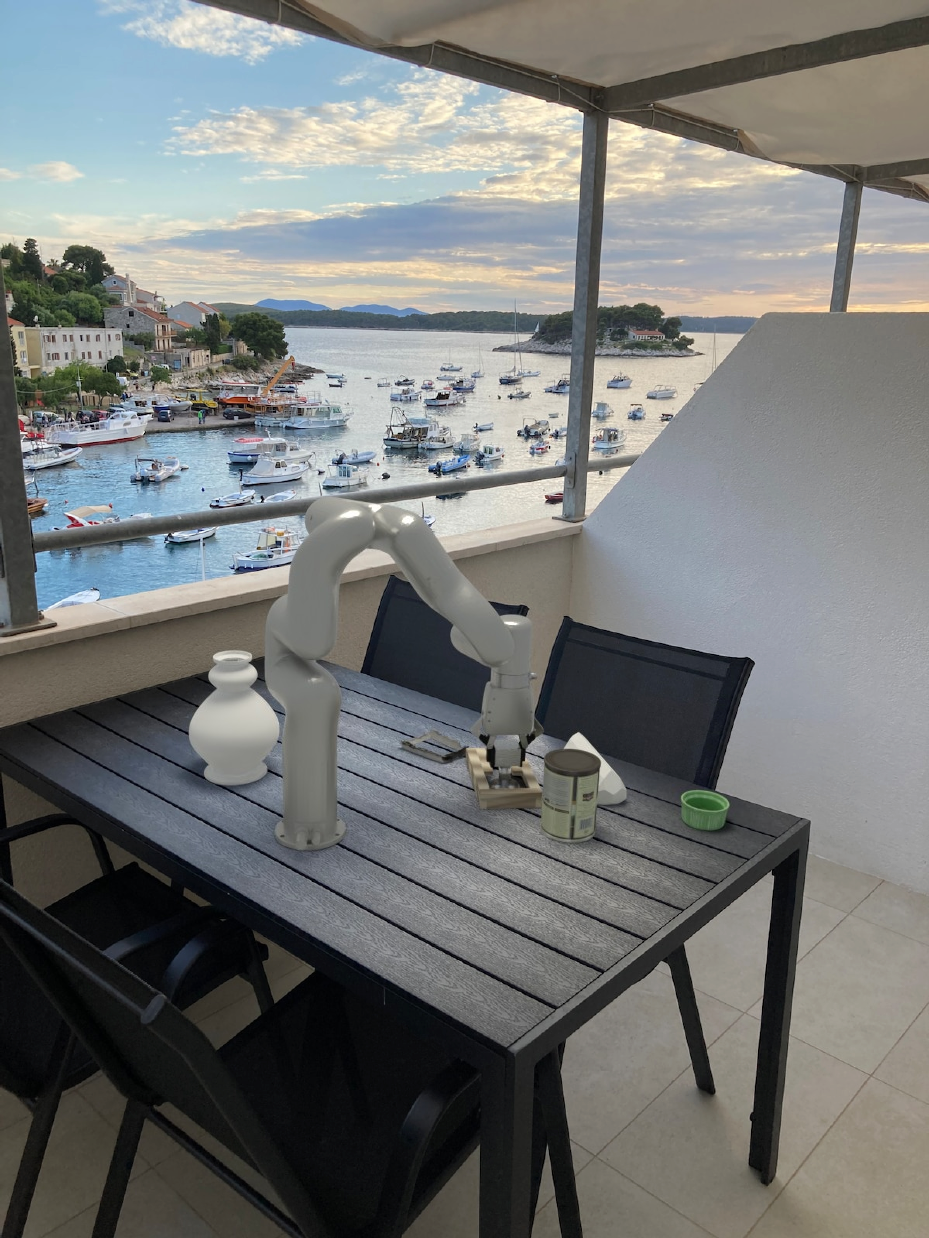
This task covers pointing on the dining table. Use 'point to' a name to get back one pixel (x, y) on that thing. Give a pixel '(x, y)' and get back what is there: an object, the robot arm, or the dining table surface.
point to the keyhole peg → (505, 763)
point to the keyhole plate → (502, 797)
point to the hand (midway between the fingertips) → (505, 763)
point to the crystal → (601, 774)
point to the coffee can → (570, 795)
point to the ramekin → (704, 809)
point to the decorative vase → (234, 723)
